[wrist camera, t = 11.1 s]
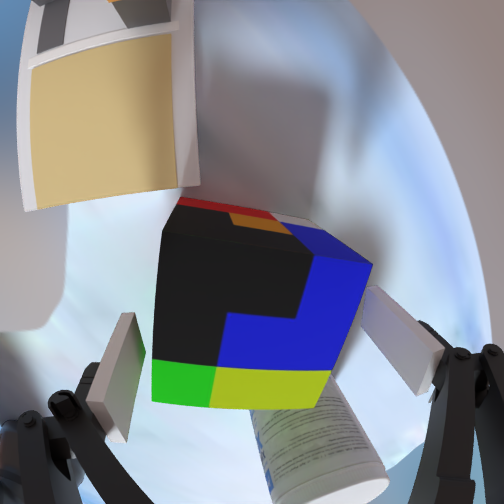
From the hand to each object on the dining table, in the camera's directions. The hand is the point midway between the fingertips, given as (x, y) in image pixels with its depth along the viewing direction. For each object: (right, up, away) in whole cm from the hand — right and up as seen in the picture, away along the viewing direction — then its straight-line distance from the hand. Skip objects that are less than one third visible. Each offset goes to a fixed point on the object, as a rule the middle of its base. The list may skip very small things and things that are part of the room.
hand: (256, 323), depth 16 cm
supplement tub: (+4, -11, +14) cm, 18 cm away
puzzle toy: (-2, +3, +8) cm, 9 cm away
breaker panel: (-11, +18, +1) cm, 21 cm away
